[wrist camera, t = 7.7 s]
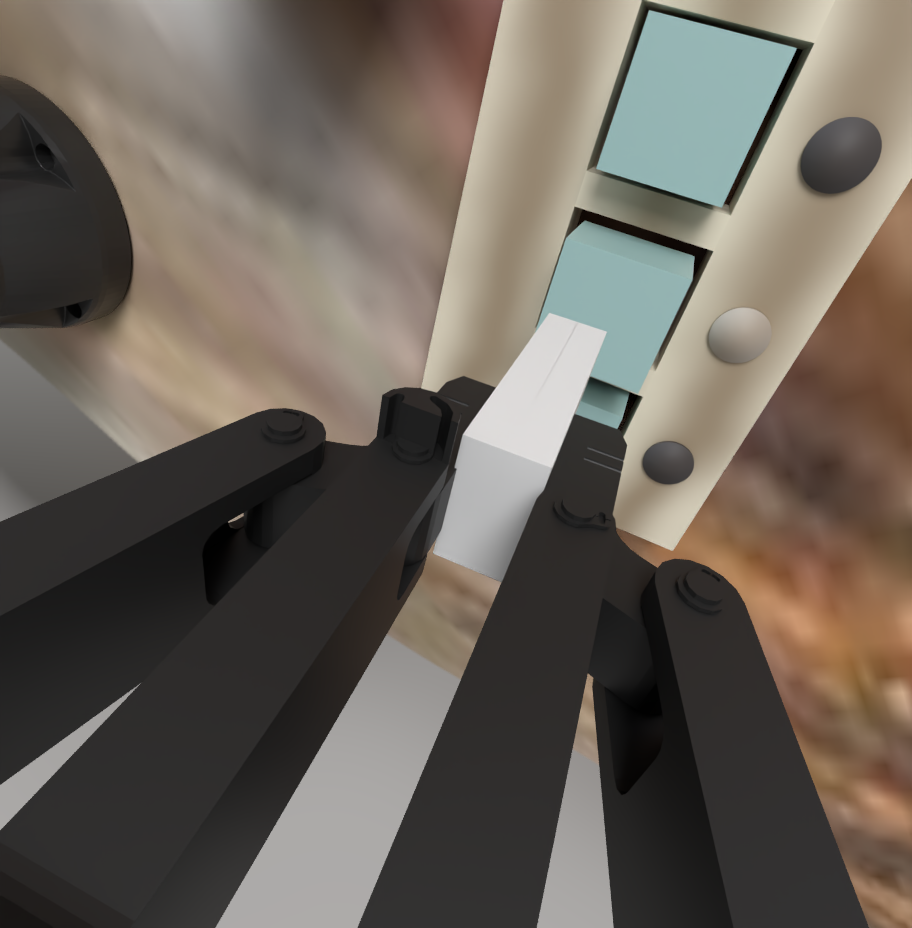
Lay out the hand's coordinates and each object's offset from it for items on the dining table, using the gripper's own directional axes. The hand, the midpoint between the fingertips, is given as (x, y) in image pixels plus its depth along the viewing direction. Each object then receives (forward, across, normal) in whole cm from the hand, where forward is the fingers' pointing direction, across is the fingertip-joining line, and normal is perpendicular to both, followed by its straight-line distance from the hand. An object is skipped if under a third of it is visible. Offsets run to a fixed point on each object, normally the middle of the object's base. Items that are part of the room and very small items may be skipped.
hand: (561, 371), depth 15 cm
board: (+16, 0, -1) cm, 16 cm away
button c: (+15, +1, +6) cm, 16 cm away
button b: (+13, 0, -1) cm, 13 cm away
